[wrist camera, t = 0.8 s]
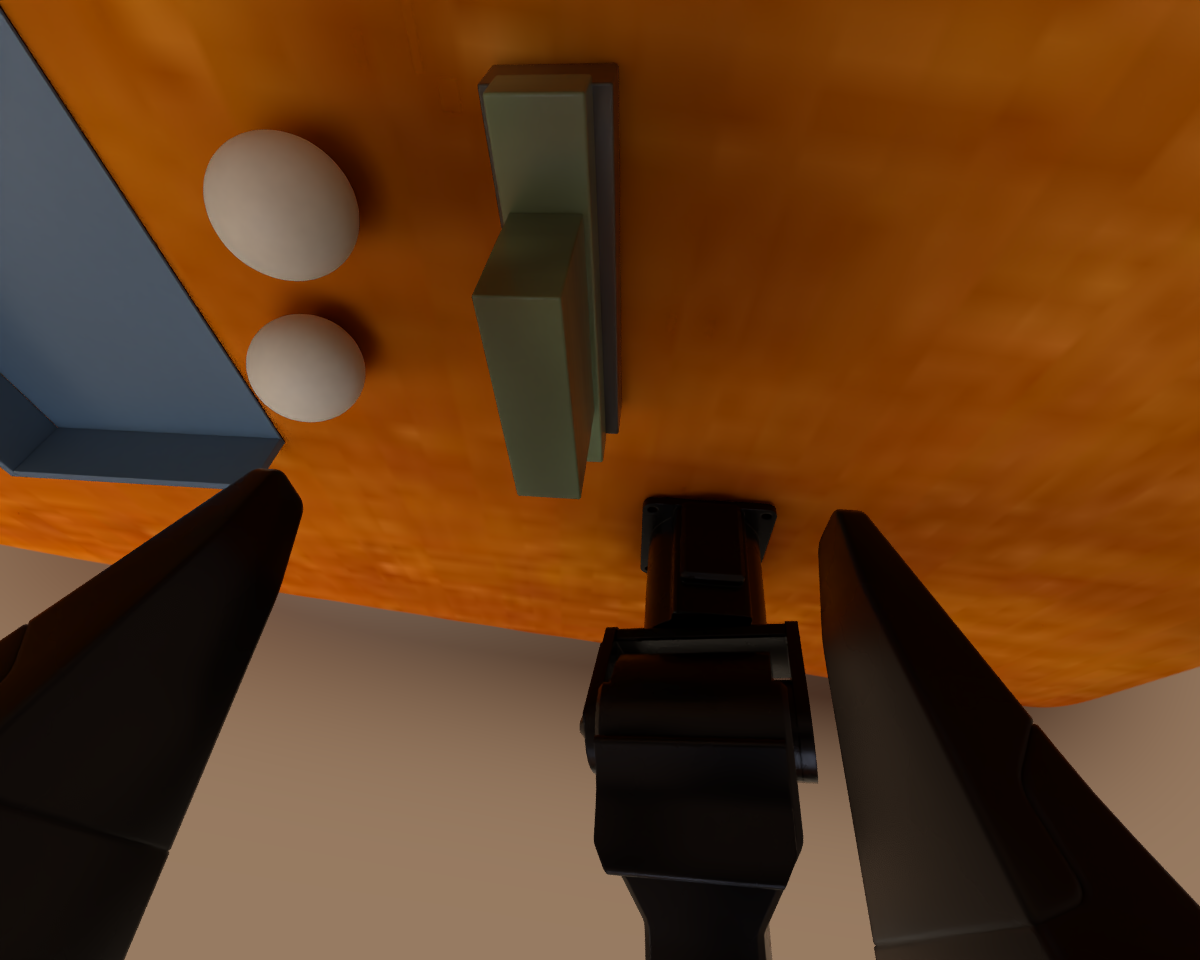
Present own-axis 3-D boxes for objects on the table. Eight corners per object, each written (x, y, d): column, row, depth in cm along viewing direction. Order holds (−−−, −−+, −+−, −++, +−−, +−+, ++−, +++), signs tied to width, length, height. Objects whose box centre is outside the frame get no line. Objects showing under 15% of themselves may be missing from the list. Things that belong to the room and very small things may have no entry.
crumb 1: (394, 242, 19) (349, 308, 17) (284, 240, 20) (223, 305, 17) (351, 108, 16) (288, 164, 14) (222, 108, 17) (136, 163, 14)
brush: (618, 53, 15) (586, 163, 10) (621, 409, 24) (605, 550, 20) (490, 55, 15) (402, 163, 10) (542, 405, 24) (508, 543, 20)
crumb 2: (393, 378, 24) (357, 446, 22) (304, 374, 25) (258, 441, 22) (359, 293, 21) (313, 361, 19) (258, 291, 21) (199, 356, 19)
